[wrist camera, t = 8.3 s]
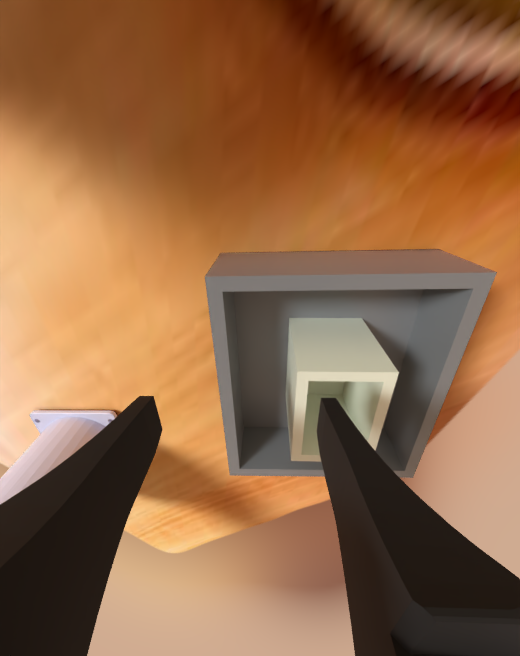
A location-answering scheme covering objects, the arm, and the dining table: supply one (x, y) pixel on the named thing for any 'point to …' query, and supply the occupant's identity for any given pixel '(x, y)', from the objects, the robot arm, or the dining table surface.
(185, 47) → the dining table surface
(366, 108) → the dining table surface
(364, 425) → the sage crate
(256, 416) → the charcoal crate
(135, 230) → the dining table surface
